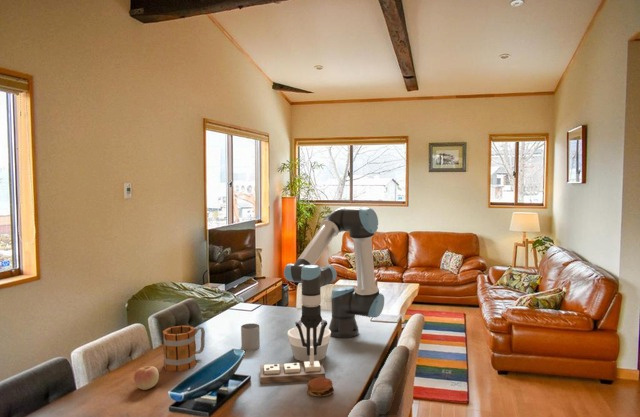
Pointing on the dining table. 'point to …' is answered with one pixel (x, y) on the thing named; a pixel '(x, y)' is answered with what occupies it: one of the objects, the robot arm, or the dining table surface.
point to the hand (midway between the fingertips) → (311, 363)
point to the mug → (181, 347)
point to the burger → (320, 387)
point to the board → (290, 375)
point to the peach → (146, 377)
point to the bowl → (297, 346)
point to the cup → (250, 336)
